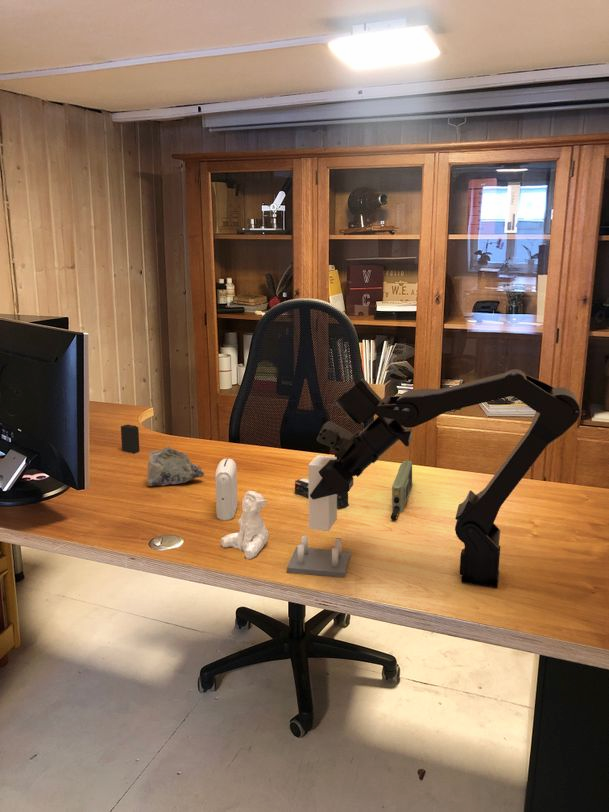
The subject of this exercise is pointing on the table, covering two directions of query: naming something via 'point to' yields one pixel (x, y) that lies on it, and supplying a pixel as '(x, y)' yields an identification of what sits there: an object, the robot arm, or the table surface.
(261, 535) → the white creature statuette
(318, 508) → the block
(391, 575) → the table surface
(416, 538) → the table surface
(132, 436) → the ink cartridge
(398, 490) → the handheld radio
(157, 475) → the mineral rock
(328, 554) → the grey peg board
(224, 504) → the photo printer
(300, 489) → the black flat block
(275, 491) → the table surface
